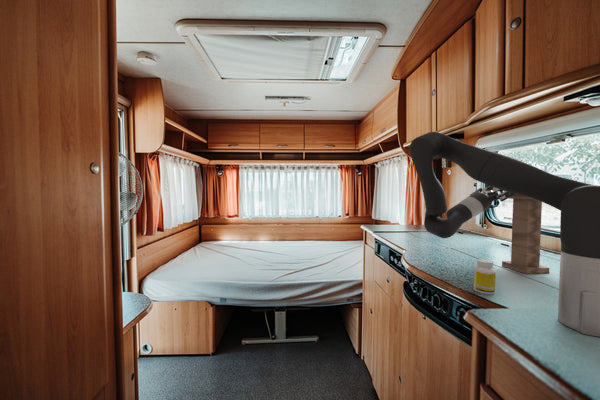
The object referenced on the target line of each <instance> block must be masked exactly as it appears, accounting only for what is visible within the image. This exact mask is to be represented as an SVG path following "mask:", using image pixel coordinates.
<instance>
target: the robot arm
mask: <svg viewBox="0 0 600 400" xmlns="http://www.w3.org/2000/svg"><path fill="white" fill-rule="evenodd" d="M409 153H410V157H411V160H412V163H413V166H414V168H415V171H416V174H417V177H418V180H419V182H420V186H421V189H422V193H423V200H424V207H425V213H424V214H425V215H424V222H423V223H424V228H425V230H426V231H427V232H428V233H430V234H432V235H434V236H436V237H439V238H441V239H449V238H451V237H452V236H454V235H455V234H456V233H457V232H458V230H459V229H460V228H461V227H462V225H463V224H464V223H466V222H468V221H469V220H471V219H473V218H475V217H477V216H479V215H480V214H482V213H483V212H485V211H486V210H488V209H490V207H491V208H492V203H493V202H495V201H498V200H499V201H500V202H504V201H506V200H507V199H510V198H509V197H511V196H513V195H514V194H518V195H522V196H526V197H530V198H533V199H536V200H539V201H541V202H542V203H544V204H546V205H548V206H550V207H552V208H555V209H557V210H559V211H560V224H559V226H560V228H559V229H560V231H559V239H560V263H559V284H558V285H559V286H558V310H557V311H558V312H557V319H558V322H560V323H561V324H563V325H565V326H566V327H568V328H571V329H573V330H575V331H577V332H579V333H580V334H583V335H588V336H593V337H599V338H600V185H596V184H590V183H586V182H581V181H577V180H573V179H571V178H570V179H569V178H565V177H561V176H559V175H555V174H553V173H550V172H548V171H545V170H543V169H541V168H539V167H537V166H534V165H532V164H530V163H527V162H525V161H523V160H520V159H517V158H514V157H512V156H508V155H506V154H503V153H500V152H499V153H498V152H496V151H491V150H488V149H485V148H482V147H478V146H475V145H472V144H468V143H465V142H463V141H460V140H457V139H456V138H453V137H450V136H448V135H446V134H443V133H441V132H438V131H429V132H426V133H424V134H422V135H420V136H417V137H415V138H414V139H413V140H412V141H411V142H410V145H409ZM435 158H439V159H443V160H446V161H449V162H451V163H454V164H456V165H457V166H458V167H460V169H461V170H463V171H464V172H465V174H466V175H467V176H468V177H470V178H472V179H473V180H475V181H477V182H479V183H482V184H484V185H486V186H487V187H479V188H478V189H477V190H475V191H474V192H472V193H470V194H469V196H467V197H466V198H464V199H462V200H461V201H459V202H458V203H457V204H455V205H454V206H452V207H451V208H448V205H447V197H446V193H445V189H444V186H443V185H442V184H441V182H440V180H439V179H438V178H437V176H436V174H435V171H434V165H433V164H434V163H433V162H434V161H433V160H434V159H435ZM493 187H494V188H497V189H496V190H493ZM498 192H499V193H498ZM444 214H445V216H446V218H447V219H446V218H442V217H441V215H444Z"/></svg>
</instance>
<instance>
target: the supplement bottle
mask: <svg viewBox="0 0 600 400" xmlns="http://www.w3.org/2000/svg"><path fill="white" fill-rule="evenodd" d="M493 267H494V262H493V261H492V260H489V259H483V258H482V259H479V258H478V259H477V260H476V266H474V268H473V290H474V291H476V292H477V293H480V294H483V295H494V294H495V292H496V291H495V290H496V270H495V269H494V268H493Z"/></svg>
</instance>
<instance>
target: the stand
mask: <svg viewBox="0 0 600 400" xmlns="http://www.w3.org/2000/svg"><path fill="white" fill-rule="evenodd" d="M508 199H512V218H511V219H512V222H511V223H512V225H511V226H512V227H511V250H510V253H511V254H510V260H505V261H504V260H502V261H501V266H502V267H504V268H507V267H508V268H507V269H510V270H512V271H517V272H520V273H523V274H526V275H533V274H534V275H535V274H536V273H538V274H550V267H547V266H544V265H540V257H541V234H542V233H541V232H542V211H543V209H542V208H543V207H542V206H543V202H541V201H539V200H536V199H533V198H530V197H526V196H522V195H518V194H514V195H513V196H511V197H509V198H508Z"/></svg>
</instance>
